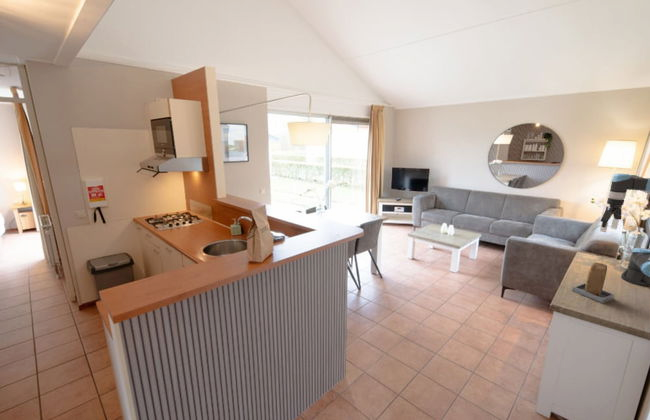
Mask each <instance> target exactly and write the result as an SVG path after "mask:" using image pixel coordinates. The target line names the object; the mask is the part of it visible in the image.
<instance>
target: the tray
mask: <svg viewBox="0 0 650 420" xmlns="http://www.w3.org/2000/svg"><path fill="white" fill-rule="evenodd" d="M585 285H586V282H582V283H580V284H577V285H574V286H572V290H571V291H572V292H573V293H576V294H578V295H581V296H583V297H586V298H588V299H589V300H592V301H595V302H596V303H600V304H604V303H607V302H610V301H612V300H614V299H615V298H614V297H615V294H614V293H612V292H609V291H606V290H604V289H602V292H601V295H600V297H598V296H596V295H593V294H591V293H588V292H586V291H585Z"/></svg>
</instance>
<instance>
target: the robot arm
mask: <svg viewBox="0 0 650 420" xmlns="http://www.w3.org/2000/svg"><path fill="white" fill-rule="evenodd" d="M612 177H613V178H612V180H611V185H610V188H609V189H610V190H609V192H608V198H607V201H606V203H607V204H608V205H609V206H606V207H605V210H604V213H603V214H602V217H601V219H600V222H601V225H600V230H599V231H600V232H602V233H607V229H608V225H609V220H610V219H611V217H612V215H613V219H612V221H611V226H610V229H614V230H617V229H618V225H619V221H620V220H621V221H622V208H623V206H624V203H625V198H626V195H627V192H628V191H641V192H642V193H646V194H648V195H650V177H648V178H646V177H643V176H639V175H637V174H629V173H615V174H614V175H613V176H612ZM620 278H621V280H623V281H626V282H627V283H630V284H633V285H637V286H640V287H641V286H643V287H650V249H648V248H642V247H634V248H633V249H632V251H631V254H630V258H629V261H628V264H627V267H626V268H625V269H624V271H623V272H622V273H621V276H620Z"/></svg>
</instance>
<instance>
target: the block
mask: <svg viewBox="0 0 650 420" xmlns="http://www.w3.org/2000/svg"><path fill="white" fill-rule="evenodd" d="M607 271H608V265H607V264H605V263H601V262H593V263H592V264H591V266H590V269H589V271H588V274H587V277H586V281H585V283H586V285H585V291H586V292H588V293H591V294H593V295H596V296H598V297H600V295H601V292H602V290H604V286H605V285H604V284H605V282H606V277H607Z"/></svg>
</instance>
